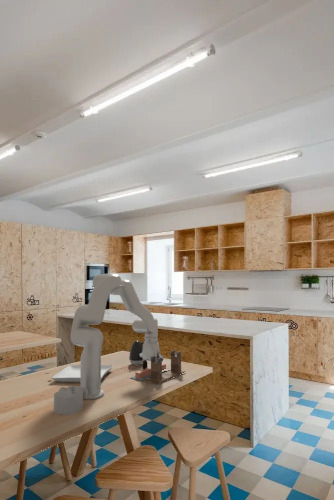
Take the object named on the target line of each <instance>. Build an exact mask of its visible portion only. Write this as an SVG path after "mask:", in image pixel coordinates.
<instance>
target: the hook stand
mask: <svg viewBox="0 0 334 500" xmlns="http://www.w3.org/2000/svg"><path fill="white" fill-rule="evenodd" d="M162 363H163V362H162V357H160V358H157V361H156V357H155V356H153V357H151V361H150V367H151V378H148V379H146V382H147V383H150V382H151V384H154V383H156V385H160V384H163V383H165V382H167V380H168V381H170V380H172V379H171V378H173V377H175V378H177V377H179V376H178V375H180V374H182V373H184V372H185V373H186V371H185V370H182V351H175V350H171V351H170V369H171V370H169V371H167V372H164V373H162ZM182 375H183V374H182ZM176 376H177V377H176ZM180 376H181V375H180ZM169 379H170V380H169ZM173 379H174V378H173ZM164 381H165V382H164ZM162 382H163V383H162Z"/></svg>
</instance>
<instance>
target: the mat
mask: <svg viewBox="0 0 334 500" xmlns="http://www.w3.org/2000/svg"><path fill="white" fill-rule="evenodd" d="M149 377H151V375H149V376H146V377H143V378H141V379H138V378H135V375H134V376H131V377H130V378H132V379H131V380H134V379H136V380H135V381H139V380H140V381H139V382H142V381H141V380H143V381H145V380H147V378H148V379H149ZM144 379H145V380H144Z"/></svg>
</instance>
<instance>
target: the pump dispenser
mask: <svg viewBox="0 0 334 500" xmlns="http://www.w3.org/2000/svg"><path fill="white" fill-rule="evenodd" d="M144 342H145V341H143V342H141V341H140V340H134V341H133V343H132V345H131V347H130V351H129V356H128V360H129V362H130V364H132V366H135V365H139V366H142V365H143V362H142V360H141V357H140V353H142V351H143V344H144ZM141 364H142V365H141Z"/></svg>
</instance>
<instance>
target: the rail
mask: <svg viewBox="0 0 334 500" xmlns="http://www.w3.org/2000/svg"><path fill="white" fill-rule="evenodd" d="M166 368H167V364H166V363H163V362H162V370H164V369H166ZM149 375H151V366H150V367H147V369H142V370H138V371H136V372H135V375H134V376H135V378H138V379H141V378H143V377H146V376H149Z"/></svg>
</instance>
